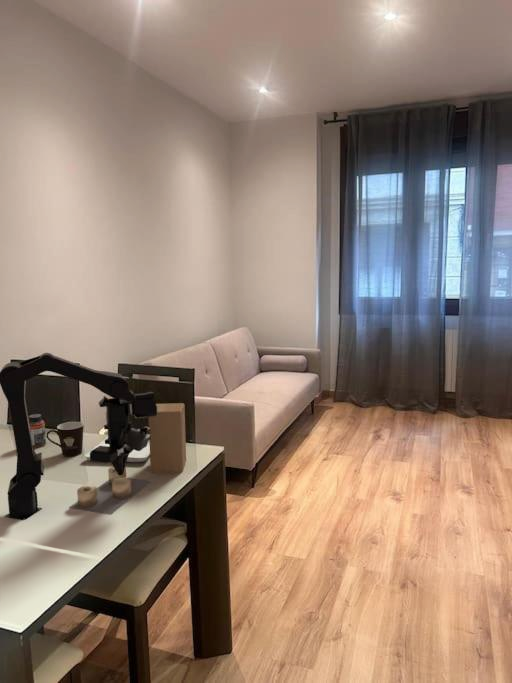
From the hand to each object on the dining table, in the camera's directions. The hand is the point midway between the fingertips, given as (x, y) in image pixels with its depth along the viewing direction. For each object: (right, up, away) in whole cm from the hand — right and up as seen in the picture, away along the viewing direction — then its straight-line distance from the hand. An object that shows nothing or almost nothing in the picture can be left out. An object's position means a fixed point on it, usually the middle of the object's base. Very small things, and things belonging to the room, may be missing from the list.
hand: (120, 474), depth 134 cm
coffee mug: (-28, -2, +35) cm, 45 cm away
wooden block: (+10, -4, +21) cm, 23 cm away
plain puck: (0, -6, +1) cm, 6 cm away
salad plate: (-7, -3, +34) cm, 34 cm away
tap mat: (-3, -6, +2) cm, 7 cm away
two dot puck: (-3, -5, +9) cm, 11 cm away
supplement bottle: (-42, -1, +42) cm, 60 cm away
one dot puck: (-8, -7, -4) cm, 11 cm away
